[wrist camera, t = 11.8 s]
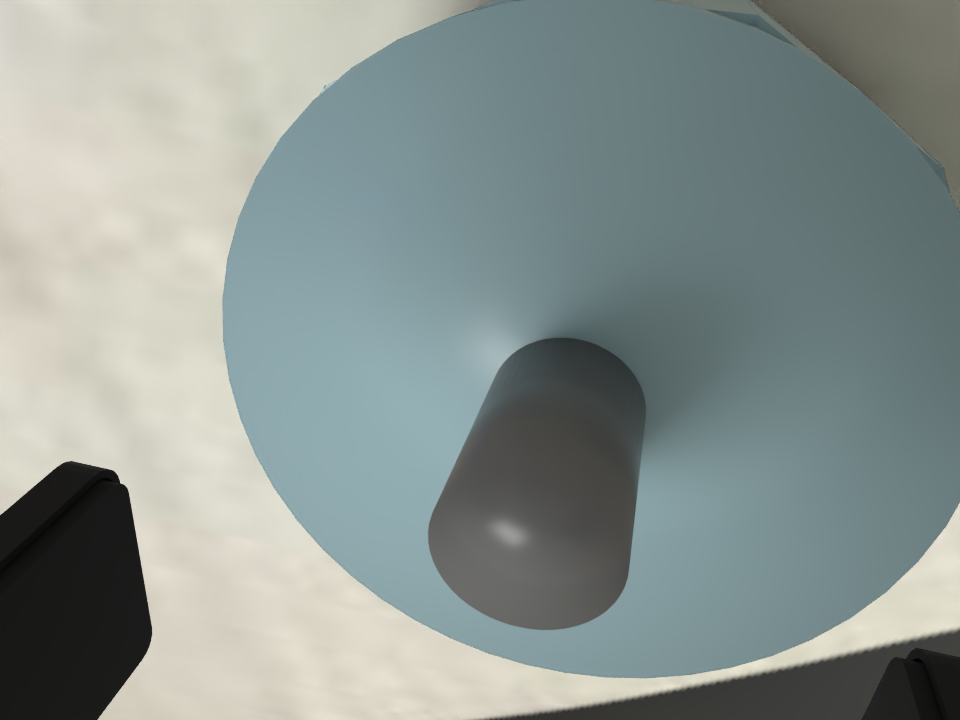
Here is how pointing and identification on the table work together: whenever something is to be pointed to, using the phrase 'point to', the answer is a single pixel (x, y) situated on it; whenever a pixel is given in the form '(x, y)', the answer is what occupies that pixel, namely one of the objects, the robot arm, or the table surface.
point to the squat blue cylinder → (604, 334)
